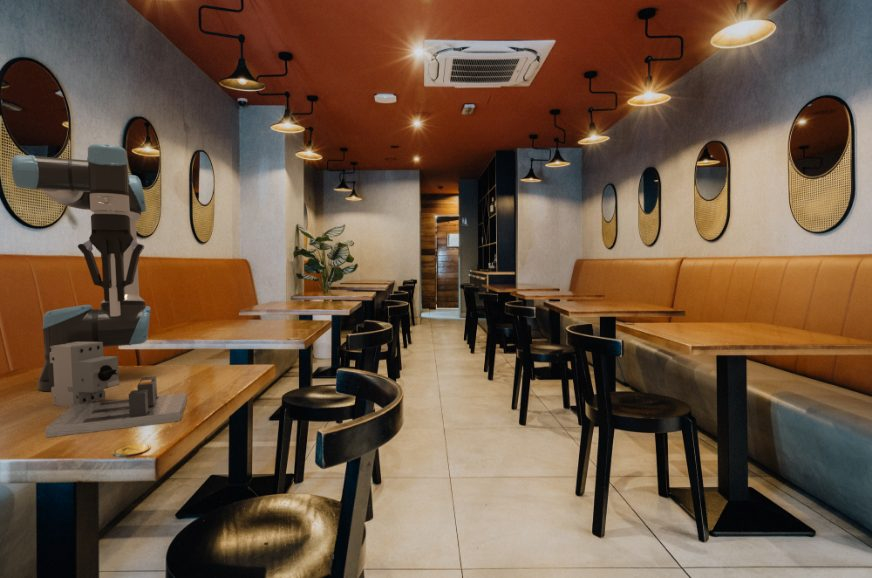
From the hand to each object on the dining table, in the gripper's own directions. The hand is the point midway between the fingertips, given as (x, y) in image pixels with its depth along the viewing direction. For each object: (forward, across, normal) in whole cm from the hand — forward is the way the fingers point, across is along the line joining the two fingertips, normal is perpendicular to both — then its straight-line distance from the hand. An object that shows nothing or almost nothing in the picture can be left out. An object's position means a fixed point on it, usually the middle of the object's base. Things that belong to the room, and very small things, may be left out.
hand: (115, 315), depth 113 cm
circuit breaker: (+24, -9, +14) cm, 29 cm away
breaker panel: (+23, +2, -5) cm, 24 cm away
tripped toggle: (+21, +6, -5) cm, 22 cm away
